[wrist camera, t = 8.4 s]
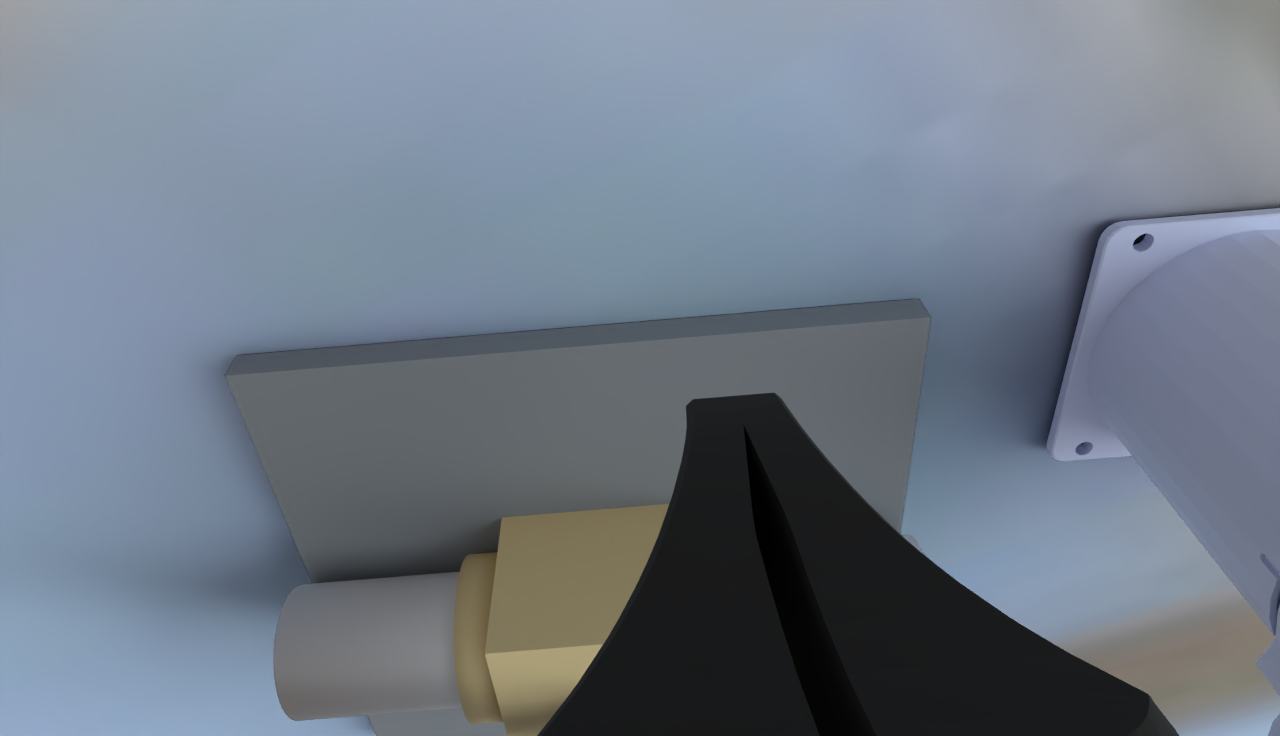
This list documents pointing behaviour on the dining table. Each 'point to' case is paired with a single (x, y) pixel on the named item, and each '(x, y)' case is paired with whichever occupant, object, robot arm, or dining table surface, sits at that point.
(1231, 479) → the robot arm
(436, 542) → the valve base
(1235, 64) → the dining table surface
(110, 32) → the dining table surface
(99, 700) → the dining table surface
